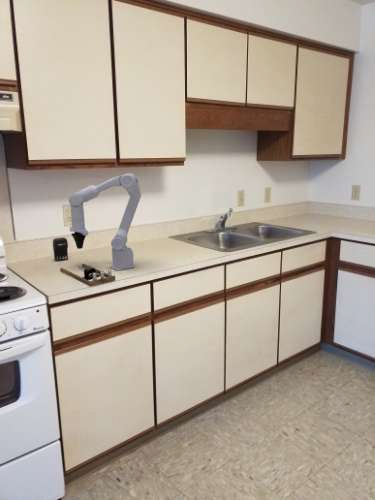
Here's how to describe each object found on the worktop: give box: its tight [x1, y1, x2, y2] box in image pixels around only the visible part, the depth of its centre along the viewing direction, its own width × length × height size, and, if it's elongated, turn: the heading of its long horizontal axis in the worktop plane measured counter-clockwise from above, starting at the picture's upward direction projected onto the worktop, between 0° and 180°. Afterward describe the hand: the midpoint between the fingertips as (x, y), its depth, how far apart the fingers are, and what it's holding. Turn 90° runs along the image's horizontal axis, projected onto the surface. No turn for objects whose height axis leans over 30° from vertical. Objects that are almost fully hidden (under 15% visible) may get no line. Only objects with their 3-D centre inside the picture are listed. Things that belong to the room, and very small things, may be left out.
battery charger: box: [52, 236, 69, 262], centre depth 197 cm, size 7×4×11 cm, turn 123°
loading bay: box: [59, 263, 116, 287], centre depth 173 cm, size 12×29×5 cm, turn 42°
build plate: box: [81, 266, 101, 281], centre depth 171 cm, size 12×7×5 cm, turn 144°
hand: (79, 248), depth 183 cm, fingers closed
